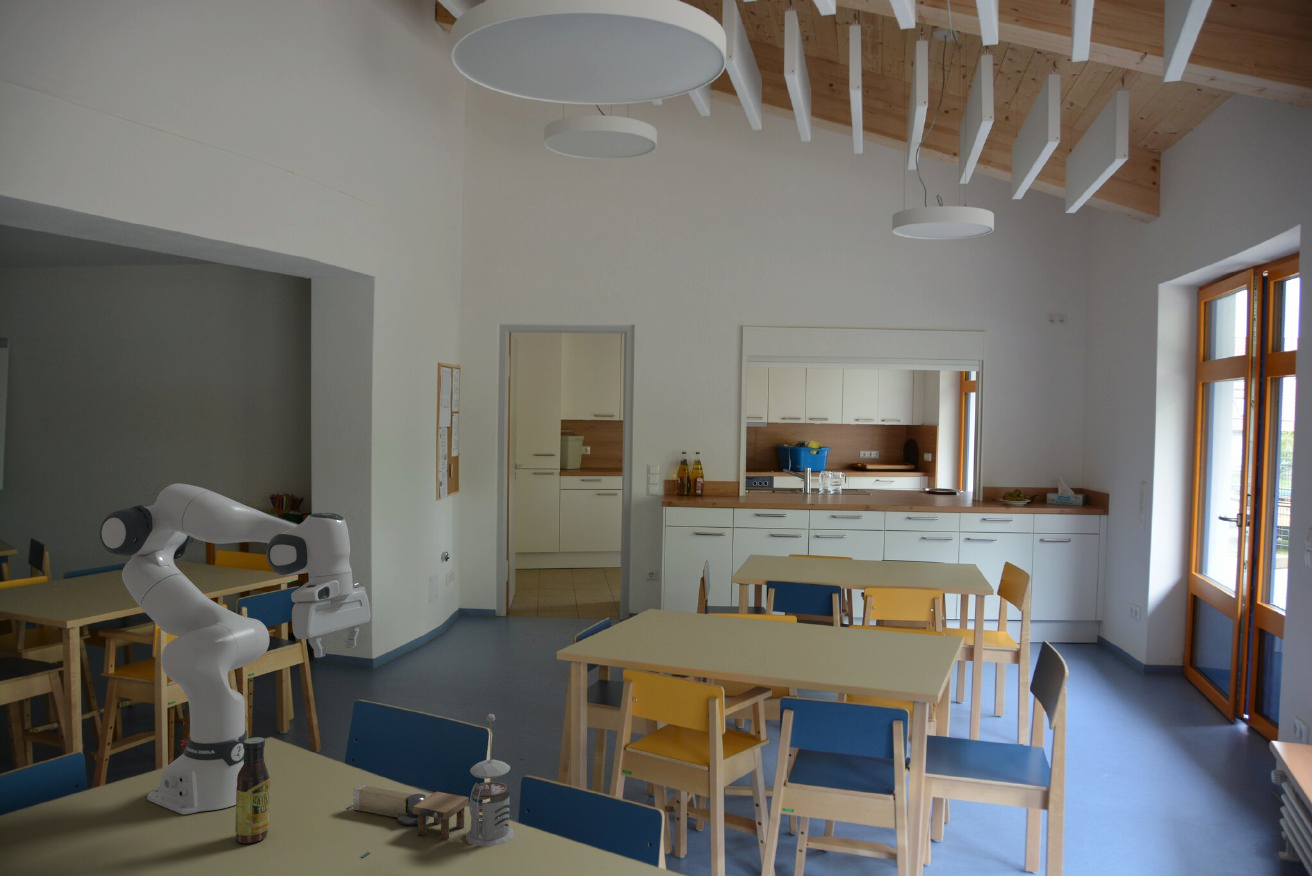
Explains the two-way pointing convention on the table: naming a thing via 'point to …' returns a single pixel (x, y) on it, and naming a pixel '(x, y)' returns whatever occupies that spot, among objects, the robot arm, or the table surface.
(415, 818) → the cam lever
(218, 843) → the table surface
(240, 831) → the sauce bottle
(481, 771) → the french press
